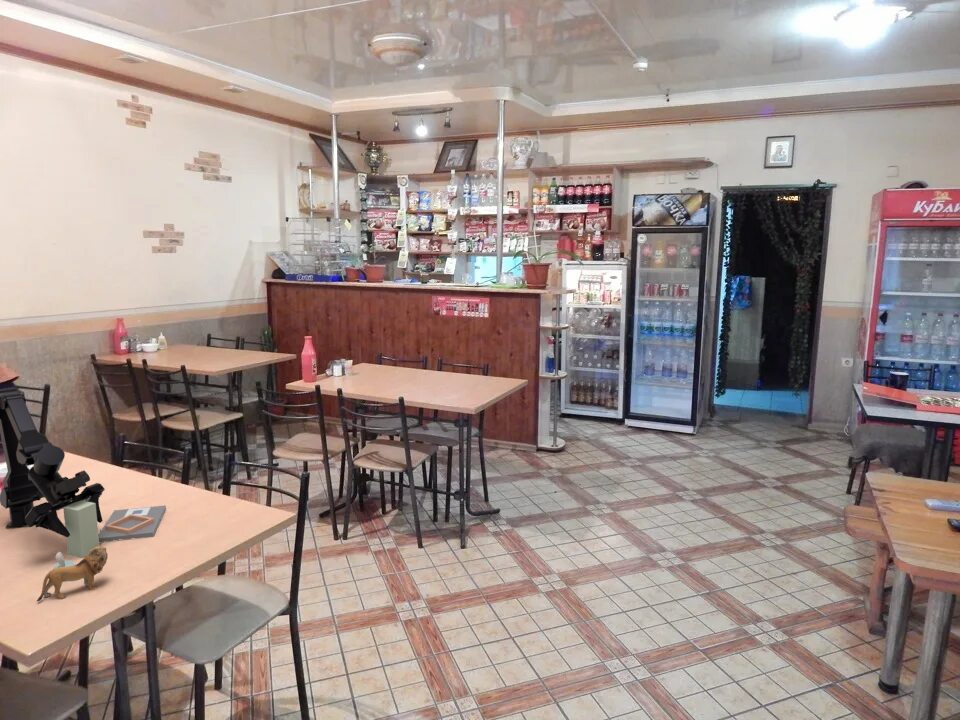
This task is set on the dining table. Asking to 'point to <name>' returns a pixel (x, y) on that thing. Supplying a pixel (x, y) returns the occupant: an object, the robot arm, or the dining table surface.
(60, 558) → the pacifier
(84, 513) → the pillar
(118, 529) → the collar
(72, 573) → the lion figurine
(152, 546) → the dining table surface
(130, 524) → the baseplate
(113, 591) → the dining table surface
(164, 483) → the dining table surface
